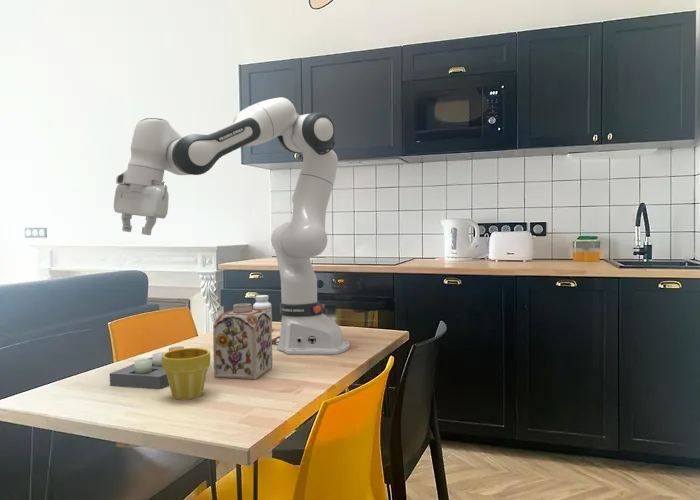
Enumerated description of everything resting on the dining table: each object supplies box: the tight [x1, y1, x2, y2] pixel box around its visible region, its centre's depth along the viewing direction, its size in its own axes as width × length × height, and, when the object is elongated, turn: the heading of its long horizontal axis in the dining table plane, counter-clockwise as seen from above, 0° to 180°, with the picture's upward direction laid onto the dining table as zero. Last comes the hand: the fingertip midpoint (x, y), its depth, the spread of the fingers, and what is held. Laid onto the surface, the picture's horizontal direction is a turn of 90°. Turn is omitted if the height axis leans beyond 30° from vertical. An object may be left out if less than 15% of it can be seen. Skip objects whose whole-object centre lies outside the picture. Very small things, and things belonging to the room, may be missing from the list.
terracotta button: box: [168, 346, 185, 351], centre depth 146 cm, size 4×4×3 cm
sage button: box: [133, 358, 152, 375], centre depth 133 cm, size 4×4×3 cm
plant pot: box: [162, 347, 211, 401], centre depth 123 cm, size 10×10×10 cm
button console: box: [109, 356, 169, 390], centre depth 140 cm, size 14×21×3 cm, turn 164°
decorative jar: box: [212, 303, 273, 381], centre depth 141 cm, size 12×12×18 cm
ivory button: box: [151, 352, 165, 367], centre depth 140 cm, size 4×4×3 cm
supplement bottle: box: [252, 294, 273, 331], centre depth 196 cm, size 7×7×13 cm
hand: (136, 233), depth 139 cm, fingers open, 8 cm apart
